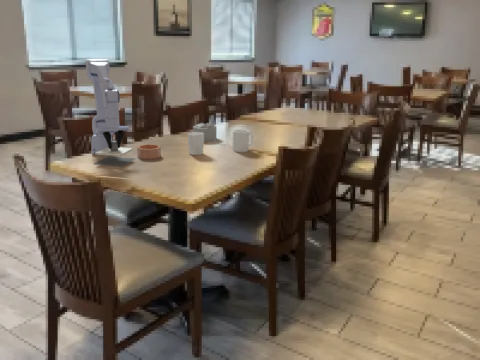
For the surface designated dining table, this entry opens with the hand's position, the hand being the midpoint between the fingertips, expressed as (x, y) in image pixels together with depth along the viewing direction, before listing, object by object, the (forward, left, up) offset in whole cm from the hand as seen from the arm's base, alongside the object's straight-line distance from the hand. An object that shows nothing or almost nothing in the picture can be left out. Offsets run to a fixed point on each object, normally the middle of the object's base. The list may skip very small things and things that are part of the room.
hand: (114, 147), depth 202 cm
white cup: (+30, +26, -7) cm, 40 cm away
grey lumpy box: (+26, +59, -7) cm, 65 cm away
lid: (0, 0, -2) cm, 2 cm away
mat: (0, 0, -7) cm, 7 cm away
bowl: (+11, +13, -7) cm, 18 cm away
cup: (+51, +40, -7) cm, 65 cm away
